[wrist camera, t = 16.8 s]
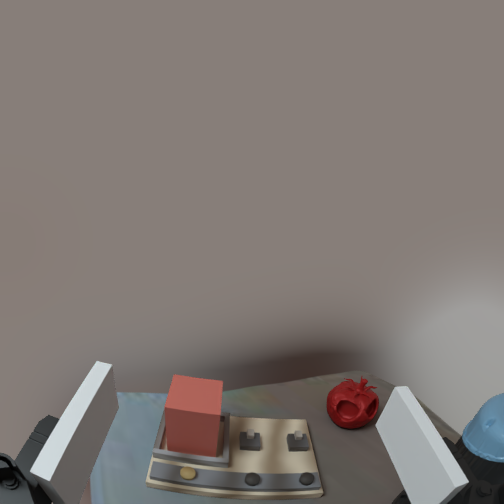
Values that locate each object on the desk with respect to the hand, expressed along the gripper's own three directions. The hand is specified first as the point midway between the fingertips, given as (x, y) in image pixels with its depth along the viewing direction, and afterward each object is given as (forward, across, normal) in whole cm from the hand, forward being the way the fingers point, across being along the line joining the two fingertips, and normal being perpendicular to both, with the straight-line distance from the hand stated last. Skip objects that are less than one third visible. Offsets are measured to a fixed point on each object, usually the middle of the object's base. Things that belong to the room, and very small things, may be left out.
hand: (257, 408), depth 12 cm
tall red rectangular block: (+21, -4, -28) cm, 35 cm away
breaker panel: (+19, +2, -30) cm, 35 cm away
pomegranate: (+29, +23, -30) cm, 48 cm away
